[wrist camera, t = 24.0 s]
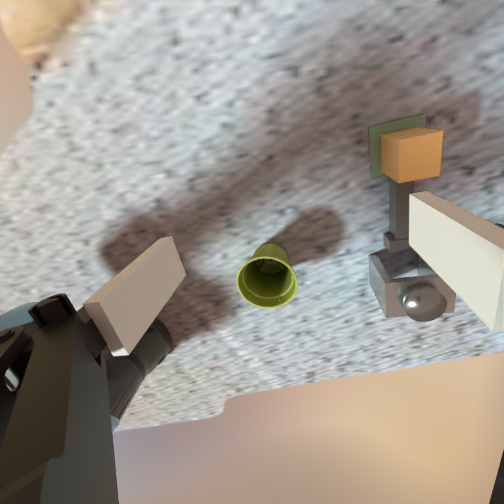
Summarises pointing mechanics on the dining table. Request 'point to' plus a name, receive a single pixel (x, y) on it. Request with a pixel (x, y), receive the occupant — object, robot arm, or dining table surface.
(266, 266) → the plant pot
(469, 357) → the dining table surface
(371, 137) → the mat
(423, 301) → the housing
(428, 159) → the plug
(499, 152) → the dining table surface
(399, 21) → the dining table surface
